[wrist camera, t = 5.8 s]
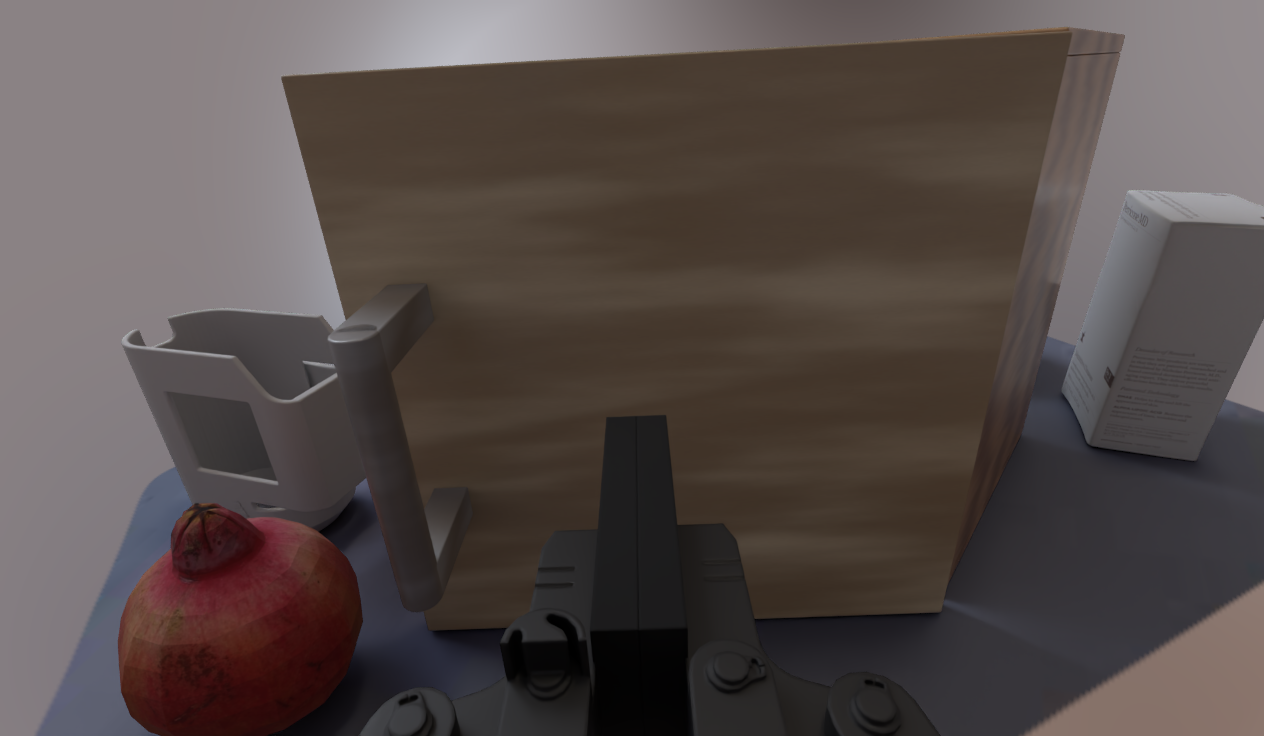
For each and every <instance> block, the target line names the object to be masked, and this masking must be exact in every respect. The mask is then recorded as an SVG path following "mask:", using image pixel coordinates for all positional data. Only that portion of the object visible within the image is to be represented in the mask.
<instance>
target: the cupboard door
mask: <svg viewBox="0 0 1264 736" xmlns="http://www.w3.org/2000/svg"><path fill="white" fill-rule="evenodd" d="M1072 35H1073V33H1072V32H1071V31H1063V32H1045V33H1027V34H1009V35H991V36H973V37H955V38H937V39H919V40H902V41H884V42H868V43H848V44H830V45H812V46H796V47H795V46H794V47H777V48H759V49H740V50H723V51H706V52H687V53H670V54H651V55H634V56H617V57H597V58H581V59H562V60H544V61H526V62H508V63H490V64H472V65H455V66H437V67H420V68H402V69H382V70H365V71H347V72H329V73H311V74H293V75H283V76H281V78H282V83H283V86H284V90H285V94H286V98H287V102H288V105H289V109H290V112H291V117H292V120H293V124H294V128H295V131H296V135H297V139H298V142H299V147H300V150H301V154H302V158H303V162H304V165H305V169H306V173H307V177H308V180H309V184H310V188H311V191H312V195H313V199H314V203H315V206H316V210H317V214H318V218H319V221H320V225H321V229H322V233H323V236H324V240H325V244H326V248H327V251H328V255H329V259H330V263H331V266H332V270H333V274H334V278H335V281H336V285H337V289H338V293H339V296H340V300H341V304H342V308H343V311H344V315H345V319H346V321H345V322H344V323H342V324H341V325H340V326H339V327H338V328H336V329H335V330H334V331H333V332H332V333H331V334H330V335H329V336H328V339H327V341H328V344H329V348H330V351H331V355H332V358H333V362H334V365H335V369H336V372H337V376H338V379H339V383H340V386H341V390H342V394H343V397H344V401H345V404H346V408H347V411H348V415H349V418H350V422H351V425H352V429H353V432H354V436H355V439H356V443H357V446H358V450H359V453H360V457H361V460H362V464H363V467H364V471H365V474H366V478H367V481H368V485H369V488H370V492H371V495H372V499H373V502H374V506H375V509H376V513H377V516H378V520H379V523H380V527H381V530H382V534H383V537H384V541H385V544H386V548H387V551H388V555H389V558H390V562H391V566H392V569H393V573H394V576H395V580H396V583H397V587H398V590H399V594H400V597H401V601H402V604H403V606H404V608H405V609H407V610H408V611H411V612H423V611H424V615H425V619H426V623H427V626H428V630H430V631H431V630H459V629H487V628H508V627H509V626H510V625H511V624H512V623H513V622H514V621H515V620H516V619H517V618H519V617H520V616H522V615H524V614H526V613H528V612H530V606H531V601H532V596H533V591H534V588H535V581H536V575H537V572H538V565H539V560H540V555H541V550H542V547H543V546H544V545H545V543H546V542H547V541H548V539H549V538H550V537H551V535H552V534H553V533H554V531H565V530H593V529H598V519H599V506H600V493H601V480H602V467H603V454H604V441H605V428H606V417H624V416H650V415H666V417H667V427H668V437H669V447H670V457H671V467H672V477H673V487H674V497H675V507H676V517H677V525H690V524H719V523H723V524H724V525H725V527H726V528H727V529H728V530H729V531H730V533H731V534H732V535H733V536H734V537H735V539H736V540H737V544H738V548H739V553H740V557H741V563H742V566H743V570H744V575H745V580H746V584H747V588H748V592H749V597H750V601H751V606H752V610H753V615H754V619H768V618H796V617H824V616H852V615H880V614H908V613H936V612H941V611H942V606H943V602H944V598H945V593H946V589H947V584H948V580H949V576H950V571H951V567H952V562H953V558H954V554H955V549H956V545H957V540H958V536H959V532H960V527H961V523H962V518H963V514H964V510H965V505H966V501H967V496H968V492H969V488H970V483H971V479H972V474H973V470H974V466H975V461H976V457H977V452H978V448H979V444H980V439H981V435H982V430H983V426H984V422H985V417H986V413H987V408H988V404H989V400H990V395H991V391H992V386H993V382H994V378H995V373H996V369H997V364H998V360H999V356H1000V351H1001V347H1002V342H1003V338H1004V334H1005V329H1006V325H1007V320H1008V316H1009V312H1010V307H1011V303H1012V298H1013V294H1014V290H1015V285H1016V281H1017V276H1018V272H1019V268H1020V263H1021V259H1022V254H1023V250H1024V246H1025V241H1026V237H1027V232H1028V228H1029V224H1030V219H1031V215H1032V210H1033V206H1034V202H1035V197H1036V193H1037V188H1038V184H1039V180H1040V175H1041V171H1042V166H1043V162H1044V158H1045V153H1046V149H1047V145H1048V140H1049V136H1050V131H1051V127H1052V123H1053V118H1054V114H1055V109H1056V105H1057V101H1058V96H1059V92H1060V87H1061V83H1062V79H1063V74H1064V70H1065V65H1066V61H1067V57H1068V52H1069V48H1070V43H1071V39H1072Z"/></svg>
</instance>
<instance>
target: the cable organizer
mask: <svg viewBox="0 0 1264 736" xmlns="http://www.w3.org/2000/svg"><path fill="white" fill-rule="evenodd" d="M168 321H169V323H170V326H171V328H172V331H173V336H172V337H171V338H170V339H169V340H168V341H166V342H163V343H160V344H158V345H156V346H153V347H147V346H146V345H145V344H144V342H143V339H142V337H141V334H140V332H139V330H133V331H131V332H129V333H128V334H127V335H126V336H124V338H123V339H122V346H123V348H124V351H125V353H126V355H127V357H128V360H129V362H130V364H131V366H132V369H133V371H134V373H135V375H136V378H137V380H138V382H139V385H140V387H141V389H142V391H143V394H144V396H145V398H146V400H147V403H148V404H149V407H150V409H151V412H152V414H153V416H154V419H155V421H156V423H157V425H158V427H159V430H160V432H161V434H162V437H163V439H164V441H165V443H166V446H167V448H168V450H169V453H170V455H171V457H172V459H173V462H174V464H175V466H176V468H177V471H178V473H179V475H180V477H181V480H182V482H183V484H184V486H185V489H186V491H187V493H188V496H189V498H190V500H191V502H192V505H194V504H195V503H217V504H219V505H221V506H223V507H224V508H226V509H228V510H231V511H233V512H236V513H238V514H240V515H242V516H243V517H244V518H246V519H248V518H257V517H274V518H280V519H285V520H289V521H293V522H298V523H301V524H304V525H306V526H308V527H310V528H313V529H315V530H317V531H320V530H322V529H324V528H325V527H327V526H328V525H330V524H331V523H332V522H333V521H335V520H336V518H337V517H338V516H339V515H340V514H341V512H342V511H343V510H344V509H345V507H346V506H347V505H348V504H349V502H350V501H351V499H352V498H353V496H354V494H355V490H356V486H357V485H358V484H359V483H361V482H362V481H363V480H364V479H365V478H366V474H365V471H364V467H363V464H362V460H361V457H360V453H359V450H358V446H357V443H356V439H355V436H354V432H353V429H352V425H351V422H350V418H349V415H348V411H347V408H346V404H345V401H344V397H343V394H342V390H341V386H340V383H339V379H338V376H337V372H336V369H335V366H331V365H327V364H322V363H329V364H334V362H333V358H332V355H331V351H330V348H329V344H328V341H327V339H328V336H329V335H330V334H331V333H332V332H333V331H334V330H333V329H332V328H331V326H330V325H329V324H328V322H326V320H325V319H324V318H323V316H322V315H310V314H297V313H284V312H271V311H258V310H245V309H232V308H231V309H230V308H219V309H207V310H200V311H194V312H188V313H183V314H179V315H175V316H171V317H168ZM318 362H319V363H318ZM257 503H259V504H265V505H270V506H275V507H278V508H260V507H259V506H258V505H257Z"/></svg>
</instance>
